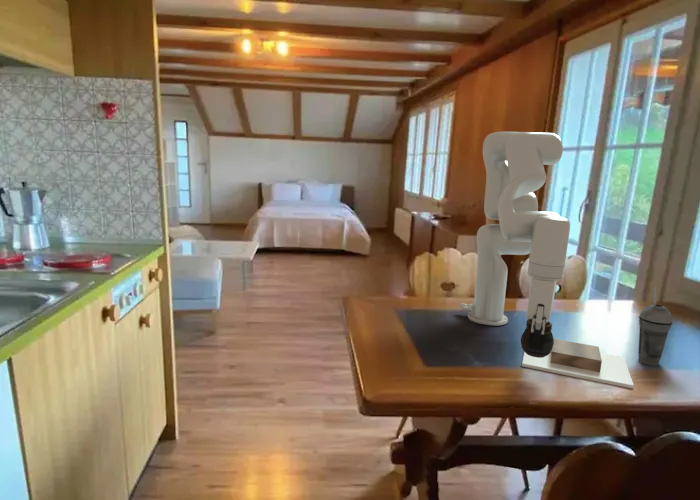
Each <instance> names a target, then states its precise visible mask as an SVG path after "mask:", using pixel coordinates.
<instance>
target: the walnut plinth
mask: <svg viewBox="0 0 700 500" xmlns="http://www.w3.org/2000/svg"><path fill="white" fill-rule="evenodd" d="M553 339H554V345H553V348H552V350H551V363H554V364H560V365H565V366H570V367H575V368H580V369H585V370H591V371H596V372H600V370H601V363H602V359H601V355H600V353H601V351H600V348H599V346H597V345H591V344H586V343H580V342H574V341H569V340H562V339H556V338H553Z"/></svg>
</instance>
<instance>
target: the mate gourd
mask: <svg viewBox="0 0 700 500" xmlns="http://www.w3.org/2000/svg"><path fill="white" fill-rule="evenodd" d="M532 319H533V318H532ZM532 319H529V320H528V319H526V324H525V325H526V327H525V329H524V331H523V332H522V335H521V337H520V345H521V350H523V352H525V353H526V354H528V355H529V356H532V357H538V358H542V357H545V356H547V355H549V354H550V352H551V350H552V348H553V345H554V339H555V338H554V336H553V333H552V329H553V328H552V327H553V324H552V323H551V321H549V322H547V323H545V329H544V334H545V338H544V345H543V350H536V349H531V348H528V342H529V334H530V331H531V327H532ZM534 319H535V318H534ZM542 320H543V319H542ZM534 324H536V322H535V323H534ZM541 325H543V323H542V324H541ZM533 332H534V331H533Z"/></svg>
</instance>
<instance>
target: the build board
mask: <svg viewBox="0 0 700 500" xmlns="http://www.w3.org/2000/svg"><path fill="white" fill-rule="evenodd" d="M523 352H524V351H523ZM600 355H601V359H602V363H601V370H600V372H596V371H591V370H585V369H580V368H575V367H570V366H565V365H560V364H554V363H551V352H550V354H549V355H547V356H545V357H542V358H538V357H532V356H529V355H528V354H526V353H525V352H524V353H523V357H522V362H521V363H522V364H521V367H522V368H523V367H525V368H529V369H534V370H538V371H544V372H549V373H553V374H554V373H555V374H559V375H564V376H567V377H574V378H578V379H583V380H584V379H585V380H587V381H594V382H598V383H603V384H608V385H613V386H619V387H621V388H622V387H624V388H626V389H627V388H628V389H634V386H635V384H634V382H633V379H632V377H631V374H630V370H629V369H628V366H627V363H626V359H625V357H624V356H620V355H614V354H609V353H605V352H604V353H603V352H600Z"/></svg>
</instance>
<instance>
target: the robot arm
mask: <svg viewBox="0 0 700 500" xmlns="http://www.w3.org/2000/svg"><path fill="white" fill-rule="evenodd" d="M563 151H564V146H563V142H562V140H561V137H560V136H559V134H558V135H557V134H556V133H554V132H533V131H531V132H530V131H496V132H491V133H489V134H487V136H486V137H485V138H484V140H483V144H482V157H483V163H484V168H485V171H486V180H485V181H486V182H485V190H484V191H485V192H484V203H483V204H484V205H483V206H484V207H483V209H484V210H483V211H484V215H485V217H486V218H488V219H490V220H494V221H495V220H496V221H498V222H499V223H488V224H484V225H482V226H480V227H479V228H478V230H477V232H476V246H477V247H476V249H477V260H476V262H477V266H476V277H475V286H474V287H475V288H474V298H473V303H468V304H467V303H465V302H464V303H463V302H460V305H459V309H461V311H465V312H466V311H467V312H468V313H467V318H468V320H469V321H471V322H473V323H477V324H479V325H484V326H494V327H495V326H496V327H497V326H503V325H507V323H508V322H509V319H508V317H507V316H506V315H505V314H504V311H505V301H506V291H507V282H508V272H509V271H508V270H509V269H508V266H507V264H506V262H505V261H504V259H503V258H502V255H510V256H511V255H515V256H526V255H529V258H528V259H529V260H528V268H527V272H526V273H527V276H528V277H531V280H530V286H529V291H528V300H527V301H528V302H527V308H526V315H525V317H526V320H529V319H532V327H531V331H530V334H529V342H528V348H531V349H536V350H543V345H544V338H545V334H544V329H545V323H547V322H550V318H551V313H552V309H553V304H554V299H555V296H556V295H555V293H556V288H557V282H559V281H563V279H564V273H565V266H566V261H567V260H566V258H567V252H568V245H569V238H570V232H571V221H570V220H569V219H568V218H567V217H566V218H565V217H563V216H561V215H560V214H559V213H557V212H554V211H542V210H541V211H539V202H538V198H537V196H536V194H535V193H534V192H536V191H538V190H539V189H540V188H542V187H543V186H544V184H545V183H546V181H547V174H546V171H545V167H544V165H545V166H546V165H547V166H548V165H549V166H553V165H556V164H558V162H559V161H560V160H561V159H562V156H563ZM534 318H535V319H534ZM542 319H543V320H542ZM535 322H536V324H534V323H535ZM542 323H543V325H541V324H542ZM533 331H534V332H533Z"/></svg>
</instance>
